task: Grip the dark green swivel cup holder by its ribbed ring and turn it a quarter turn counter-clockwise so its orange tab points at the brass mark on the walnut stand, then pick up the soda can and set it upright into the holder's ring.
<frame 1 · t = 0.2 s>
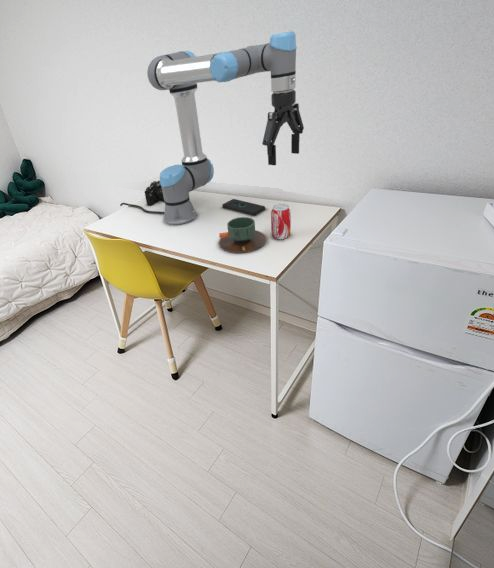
hand: (284, 158, 123), 28 cm above the table, tool pointing down, fingers open, 13 cm apart
smart home device: (243, 209, 162), on the table
cup holder: (236, 229, 133), point 6 cm above the table, hinge at 0.0°
film camera: (161, 200, 190), on the table
holder base: (242, 241, 136), on the table
soda can: (281, 236, 134), on the table
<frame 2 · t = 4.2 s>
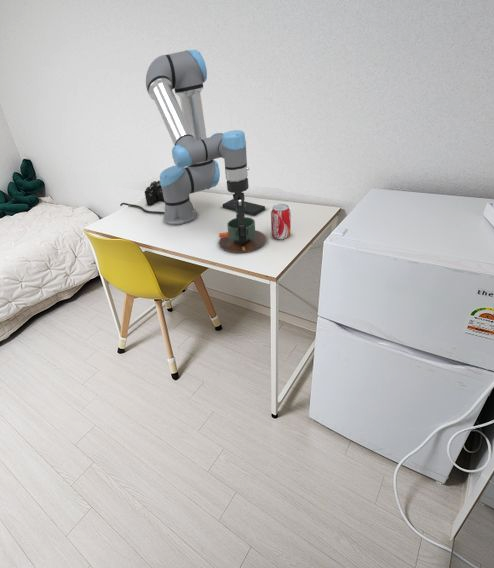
hand: (241, 235, 134), 3 cm above the table, tool pointing down, fingers closed on cup holder, 10 cm apart
cup holder: (236, 229, 133), point 6 cm above the table, hinge at 0.0°, touching gripper
everything else where it was.
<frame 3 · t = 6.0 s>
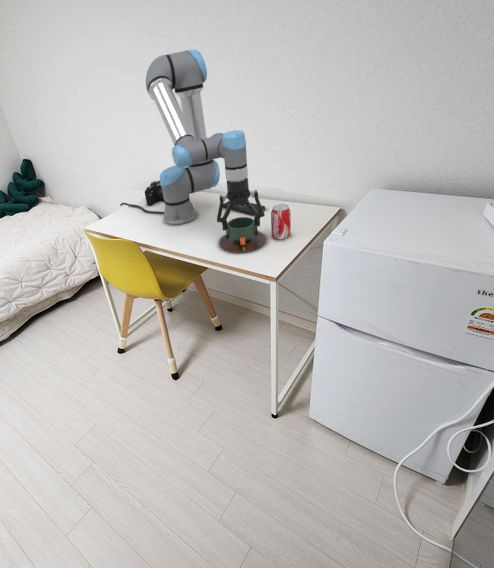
hand: (241, 235, 134), 3 cm above the table, tool pointing down, fingers closed on cup holder, 10 cm apart
cup holder: (241, 230, 131), point 6 cm above the table, hinge at 88.7°, touching gripper
everything else where it was.
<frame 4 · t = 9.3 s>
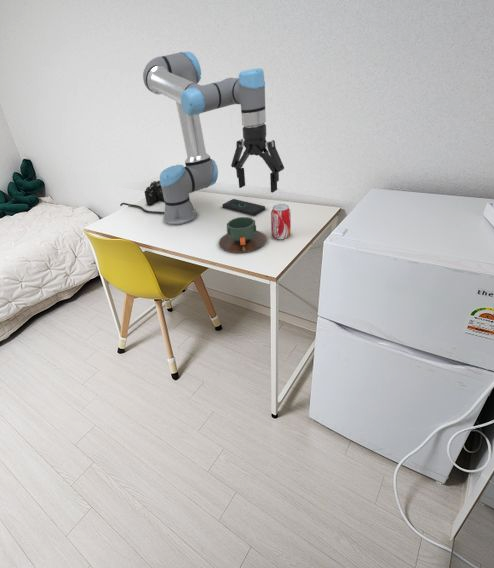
hand: (257, 188, 124), 20 cm above the table, tool pointing down, fingers open, 13 cm apart
cup holder: (241, 230, 131), point 6 cm above the table, hinge at 88.7°
everything else where it was.
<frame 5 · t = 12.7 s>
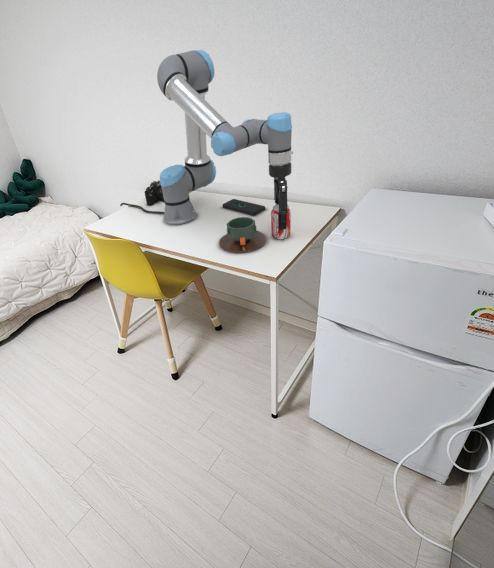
hand: (280, 224, 132), 5 cm above the table, tool pointing down, fingers closed on soda can, 7 cm apart
soda can: (281, 236, 134), on the table, touching gripper
everything else where it was.
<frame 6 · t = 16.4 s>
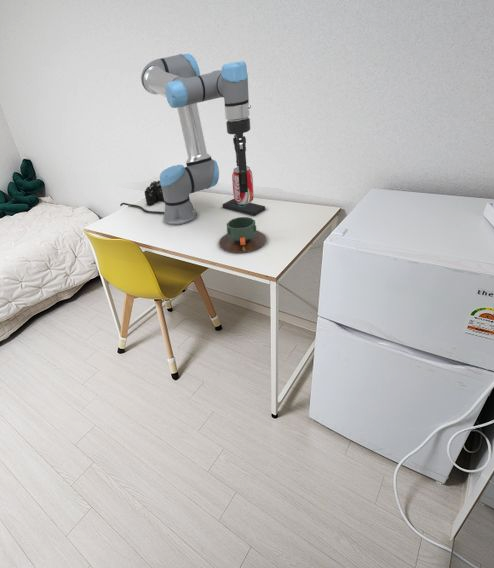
hand: (243, 188, 124), 21 cm above the table, tool pointing down, fingers closed on soda can, 7 cm apart
soda can: (244, 202, 127), point 16 cm above the table, touching gripper
everything else where it was.
when the fingers open (9 cm above the table, at t = 20.2 s): soda can stays where it is, resting on cup holder.
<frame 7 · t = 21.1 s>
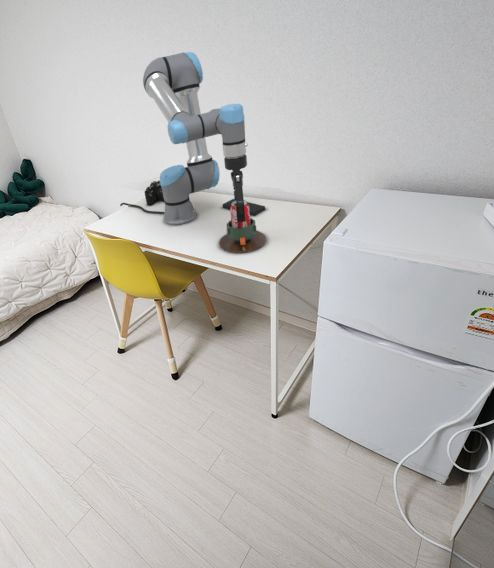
hand: (240, 214, 129), 12 cm above the table, tool pointing down, fingers open, 13 cm apart
cup holder: (241, 230, 131), point 6 cm above the table, hinge at 88.7°, touching soda can
soda can: (241, 232, 134), point 4 cm above the table, touching cup holder
everything else where it was.
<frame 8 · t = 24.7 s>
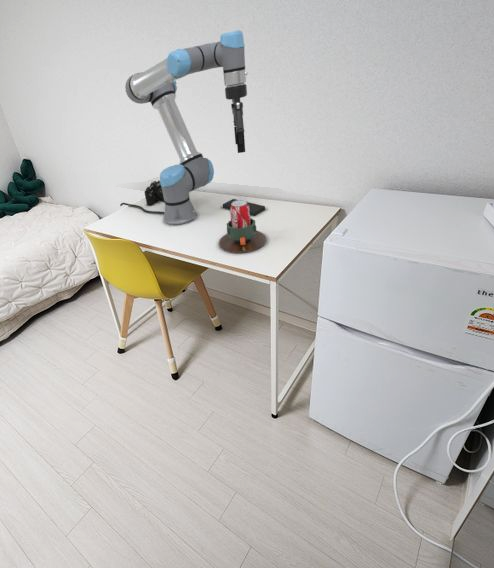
hand: (240, 147, 134), 31 cm above the table, tool pointing down, fingers open, 13 cm apart
nothing on the table moved.
at the end: cup holder at +89° (first picture: +0°); soda can 0.0 cm off-centre on the cup holder, point 3.9 cm above the cup holder's base; soda can tilted 0° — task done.
